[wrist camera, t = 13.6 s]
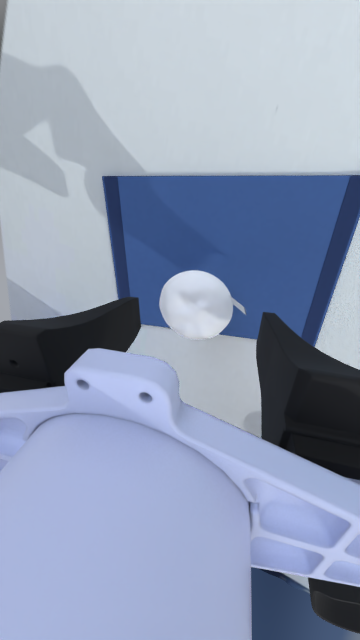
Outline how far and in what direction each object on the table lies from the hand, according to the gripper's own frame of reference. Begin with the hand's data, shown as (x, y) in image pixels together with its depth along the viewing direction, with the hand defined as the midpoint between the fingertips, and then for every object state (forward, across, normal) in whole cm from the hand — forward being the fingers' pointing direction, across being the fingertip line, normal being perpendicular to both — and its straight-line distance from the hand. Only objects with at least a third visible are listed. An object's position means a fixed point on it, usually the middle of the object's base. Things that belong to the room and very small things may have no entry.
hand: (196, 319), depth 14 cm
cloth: (+9, 0, 0) cm, 9 cm away
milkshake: (+9, 0, 0) cm, 9 cm away
